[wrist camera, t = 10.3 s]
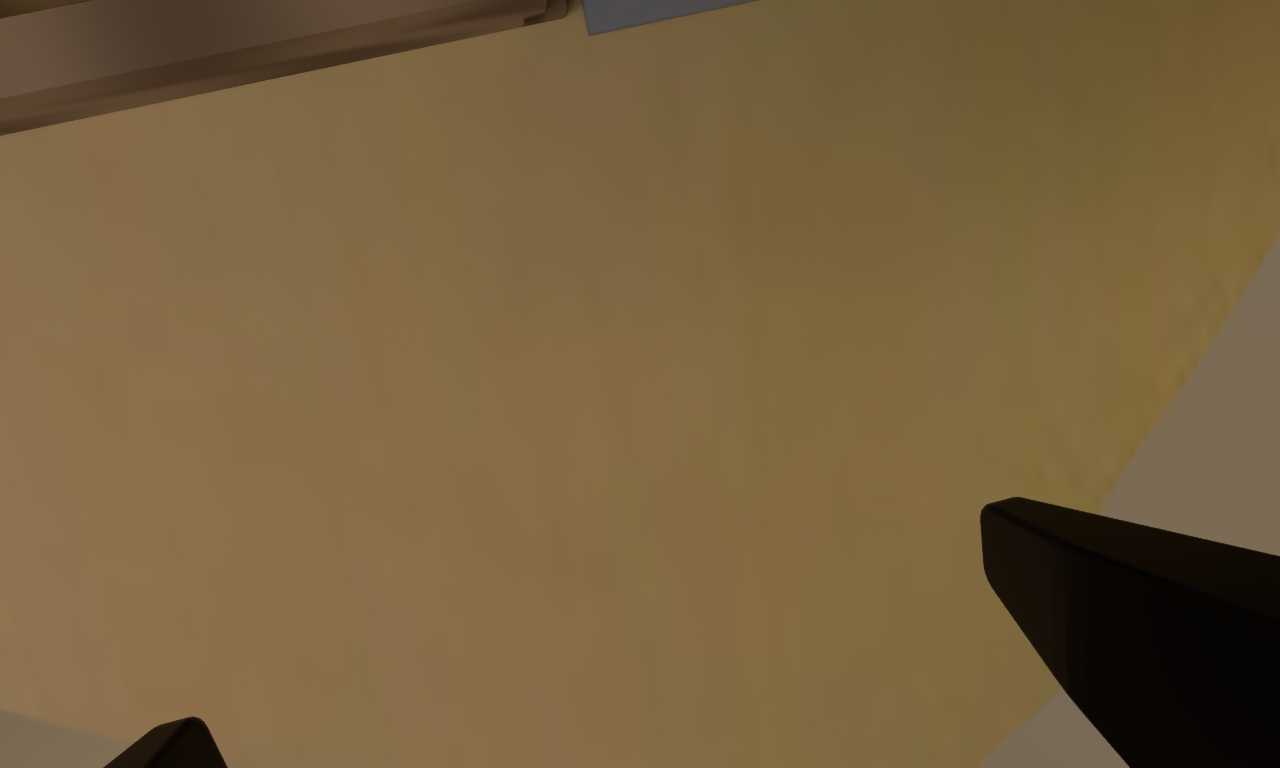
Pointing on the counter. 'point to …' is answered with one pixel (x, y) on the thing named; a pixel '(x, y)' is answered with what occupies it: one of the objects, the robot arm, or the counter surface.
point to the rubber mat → (643, 11)
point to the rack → (214, 46)
